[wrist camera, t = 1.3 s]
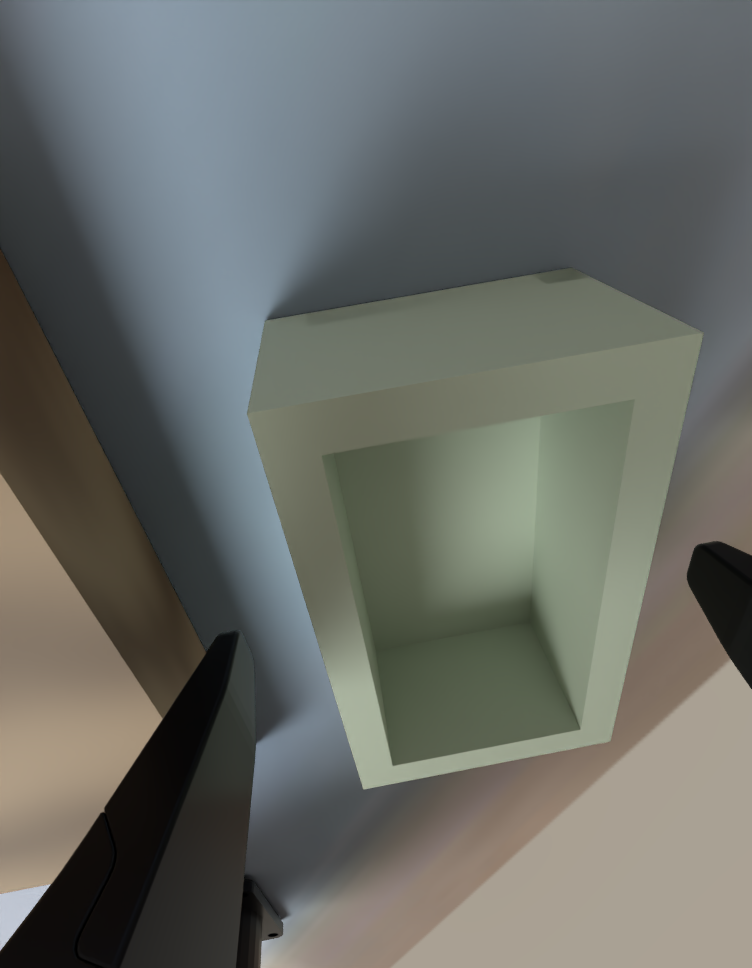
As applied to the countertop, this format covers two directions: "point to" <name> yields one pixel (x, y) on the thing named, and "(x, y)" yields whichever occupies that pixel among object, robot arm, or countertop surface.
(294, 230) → the countertop surface
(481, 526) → the sage tray
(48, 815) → the walnut shelf
